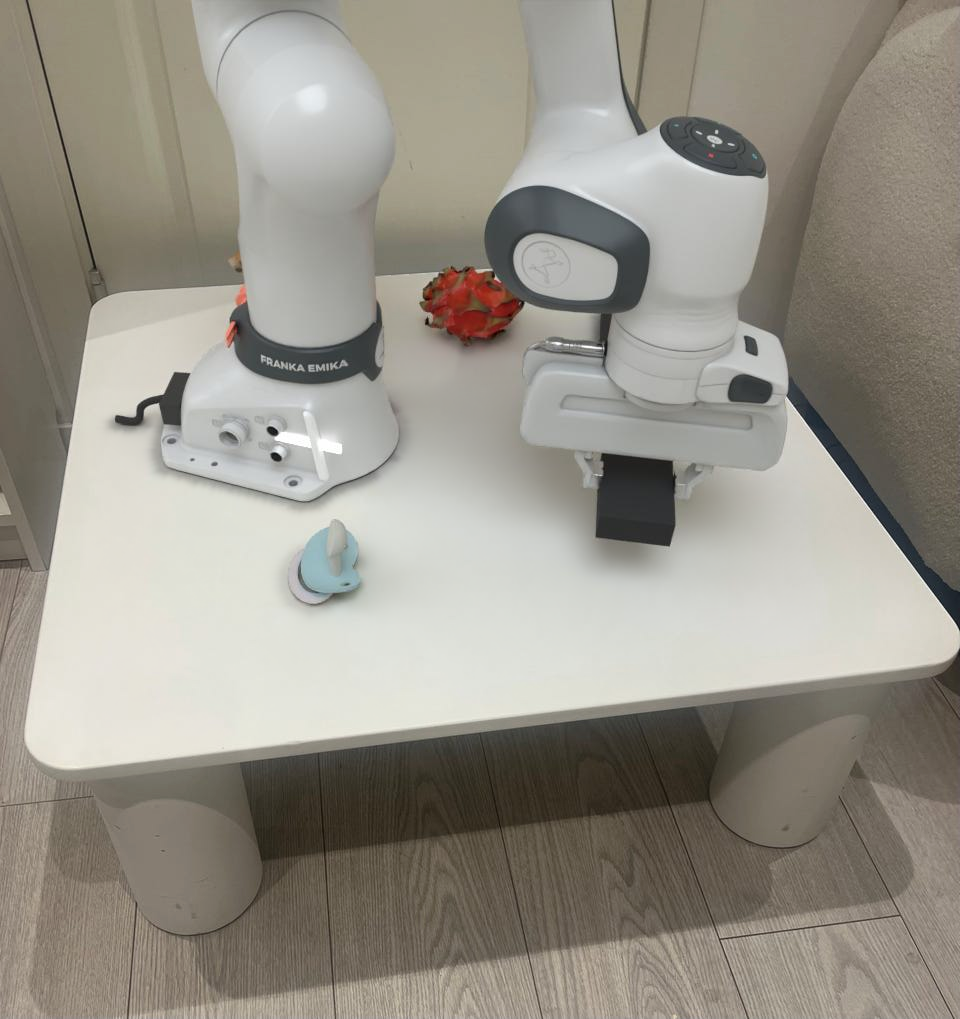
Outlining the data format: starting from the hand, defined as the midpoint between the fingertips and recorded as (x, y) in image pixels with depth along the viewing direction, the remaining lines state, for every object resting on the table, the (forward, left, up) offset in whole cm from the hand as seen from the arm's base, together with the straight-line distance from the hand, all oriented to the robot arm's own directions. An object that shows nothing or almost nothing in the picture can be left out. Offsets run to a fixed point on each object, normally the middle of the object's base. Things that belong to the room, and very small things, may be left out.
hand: (636, 488), depth 83 cm
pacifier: (-25, -7, -8) cm, 27 cm away
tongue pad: (0, +1, -2) cm, 2 cm away
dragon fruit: (-17, +31, -8) cm, 36 cm away
